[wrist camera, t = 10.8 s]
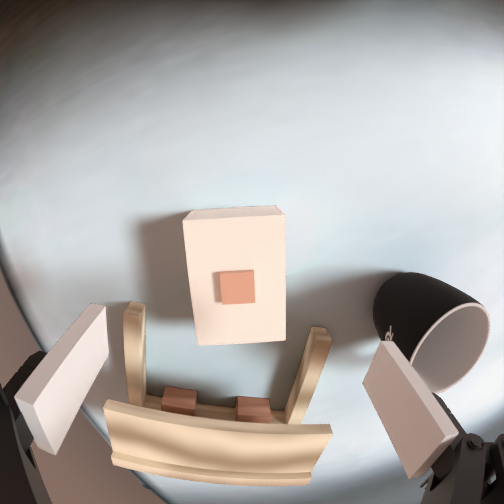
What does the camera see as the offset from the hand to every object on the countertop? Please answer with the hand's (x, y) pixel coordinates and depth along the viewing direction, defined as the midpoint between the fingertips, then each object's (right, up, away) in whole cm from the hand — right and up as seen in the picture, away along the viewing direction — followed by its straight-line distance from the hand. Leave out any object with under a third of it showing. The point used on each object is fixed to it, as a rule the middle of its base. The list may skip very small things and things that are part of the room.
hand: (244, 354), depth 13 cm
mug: (+16, -2, +16) cm, 23 cm away
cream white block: (-1, +4, +14) cm, 14 cm away
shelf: (-3, -7, +16) cm, 18 cm away
